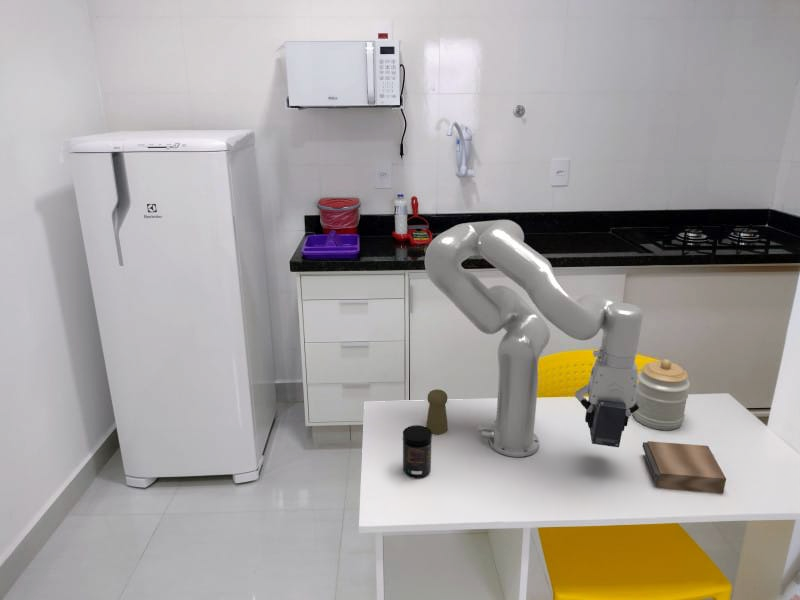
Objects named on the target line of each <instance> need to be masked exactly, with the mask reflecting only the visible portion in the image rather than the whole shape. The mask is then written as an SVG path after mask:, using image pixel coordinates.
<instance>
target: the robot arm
mask: <svg viewBox="0 0 800 600" xmlns="http://www.w3.org/2000/svg"><path fill="white" fill-rule="evenodd" d="M524 241H525V234H524V231H523V229H522V227H521V226H520V225H519V224H518V223H516V222H515V221H513V220H510V219H497V220H496V219H495V220H486V221H485V220H484V221H474V222H466V223H463V222H462V223H460V224H456V225H454V226H453V227H450V228H449V229H447V230H445V231H443V232H441V233H439V234H438V235H437V236H436V237H435V238H433V239H432V240H431V241H430V243H429V244H428V246H427V249H426V251H425V253H424V254H425V256H424V268H425V272H426V274H427V277H428V278H429V280H430V282H431V283H432V284H433V285H434V286H435V287H436V288H437V289H438V290H439V291H440V292H441V293H442V294H443V295H444V296H446V298H447V299H449V301H451V302H452V303H453V306H455V307H456V308H457V309H458V310H459V311H460V312H461V313H462V314H463V315H464V316H465V318H467V319H468V320H469V321H470V323H471V324H473V326H475V328H476V329H477V330H479V332H482V333H484V334H486V335H495V334H497V333H499V332H500V331H501V330H505V332H506V333H504V334H503V336H502V338H501V340H500V341H499V344H498V348H497V361H498V363H497V365H498V383H497V401H496V403H497V404H496V417H495V418H496V419H495V420H494V423H491V424H479V423H477V433H481V437H487V438H488V443H489V445H490V447H491V448H492V449H493V450H495V452H497V453H499V454H501V455H504V456H508V457H514V458H522V457H528V456H530V455H533V454H535V453H536V452H537V451H538V450H539V448H540V439H539V437H538V436H537V435H536V434H535V423H536V412H537V411H536V410H537V401H538V399H537V398H538V389H539V388H538V387H539V369H538V367H539V359H540V357H541V355H542V353H543V351H544V350H545V349H546V347H547V345H548V344H549V340H550V337H551V333H550V328H549V326H548V323H546V321H545V320H544V319H543V318H542V316H543V317H544V318H545V319H546V320H547V321H548V322H550V323H551V324H552V325H553V326H554V327H556V328H557V329H558V330H559V331H561V332H563V333H564V334H565V335H567V336H568V337H570V338H573V339H574V340H578V341H588V340H592V339H593V338H594V337H596V336H597V335H598V333H599V332H600V330H602V338H601V344H600V347H599V349H597V350H593V352H592V357H596V359H595V360H594V362H593V367H592V369H591V372H590V375H589V381H588V383H587V384H586V385H584V386H582V387H581V388H580V389H578V390H576V391H575V392H574V396H575V398H576V399H577V400H578V402H579V403H580V405H582V407H583V408H584V409H585V411H586V412H585V418H584V420H585V421H584V423H586V424H587V426H588V429H590V428H591V427H592V425H593V419H594V411H593V410H594V408H595V407H596V405H597V403H598V400H604V401H613V402H621V403H625V404H626V408H627V410H626V415H625V420H624V425H623V430H622V432H624V431H625V427H628V422H629V417H631V416H632V415H633V412H635V411H636V410H638V409H639V407H641V406H643V405H644V404H646V400H645V398H644V397H643V396H642V395H641V394H640V393H639V392H638V391H637V384H638V383H639V380H638V373H639V371H638V370H639V369H638V366H637V363H635V361H636V355H637V350H638V345H639V339H640V334H641V329H642V323H643V318H644V313H643V310H642V309H641V308H640V307H639V306H638V305H635V304H631V303H627V302H618V301H614V300H610V299H608V298H605V297H603V296H599V295H595V294H592V293H591V294H589V293H588V294H584V295H581V296H580V297H578V299H577V300H575V299H574V298H572V297H571V296H570V295H569V294H568V293H567V292H566V291H565V290H564V289H563V288H562V287H561V285H560V283H558V281H557V279H556V276H555V272H554V270H553V266H552V264H551V262H550V261H549V259H547V258H546V257H544V256H543V255H542V254H540V253H539V252H538V251H536V250H535V249H533V248H532V247H531V246H530V245H528V244H527V243H525V242H524ZM474 256H481V257H482V258H483V259H484V260H485V261H487V263H489V264H490V265H492V266H493V267H494V268H496V269H497V270H498V271H500V272H501V273H502V274H503V275H505V276H507V278H509V279H510V280H511V281H512V282H514V283H515V284H517V285H518V286H519V287H521V288H522V289H523V290H524V291H525V293H527V296H528V297H529V299H530V300H531V302H532V303H533V304H534V305H535V308H537V310H538V311H539V312H540V314H541V315H542V316H541V315H540V314H538V312H537V311H535V309H534V308H533V307H532V306H531V305H530V304H529V303H527V302H526V300H525V299H523V297H521V295H520V294H518V292H516V291H515V290H513V289H512V288H510V287H508V286H505V285H501V284H498V285H493V286H491V287H487V286H486V285H485V284H484V283H483V282H482V281H481V280H480V279H479V278H478V277H477V276H476V275H475V274H474V273H472V272H470V271H469V270H467V269H465V268H464V267H463V266H462V263H463V262H465V261H466V260H467V259H468V258H470V257H474ZM586 394H587V395H588V400H587V399H586V397H584V396H585V395H586ZM636 399H637V401H636ZM635 401H636V402H635Z"/></svg>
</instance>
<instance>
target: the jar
mask: <svg viewBox="0 0 800 600" xmlns="http://www.w3.org/2000/svg"><path fill="white" fill-rule="evenodd" d="M688 378H689V374H688V373H687V371H686V370H685V369H683V368H682V366H680V365H678V364H676V363H673V362H672V361H671V360H670V359H667V358H664V359H662V360H655V361H650V362H647V363H645V364H644V365H642V367H641V371H638V382H637V391H638V392H639V393H640V394H641V395H642V396H643V397H644V398H645V400H646V404H644V405H643V406H641V407H639V409H638V410H636V411H635V412H633V413H632V415H633V418H634V419H635V420H636V421H637V422H639V424H642V425H644V426H646V427H649V428H651V429H656V430H661V431H669V430H670V431H671V430H675V429H678V428H680V427H681V426H682V424H683V422H684V420H685V412H686V411H685V410H686V404H687V400H688V399H689V393H688V389H690V386H691V384H690V383H691V382H690V381H689V379H688ZM636 401H637V399H636ZM636 401H635V402H636Z"/></svg>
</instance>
